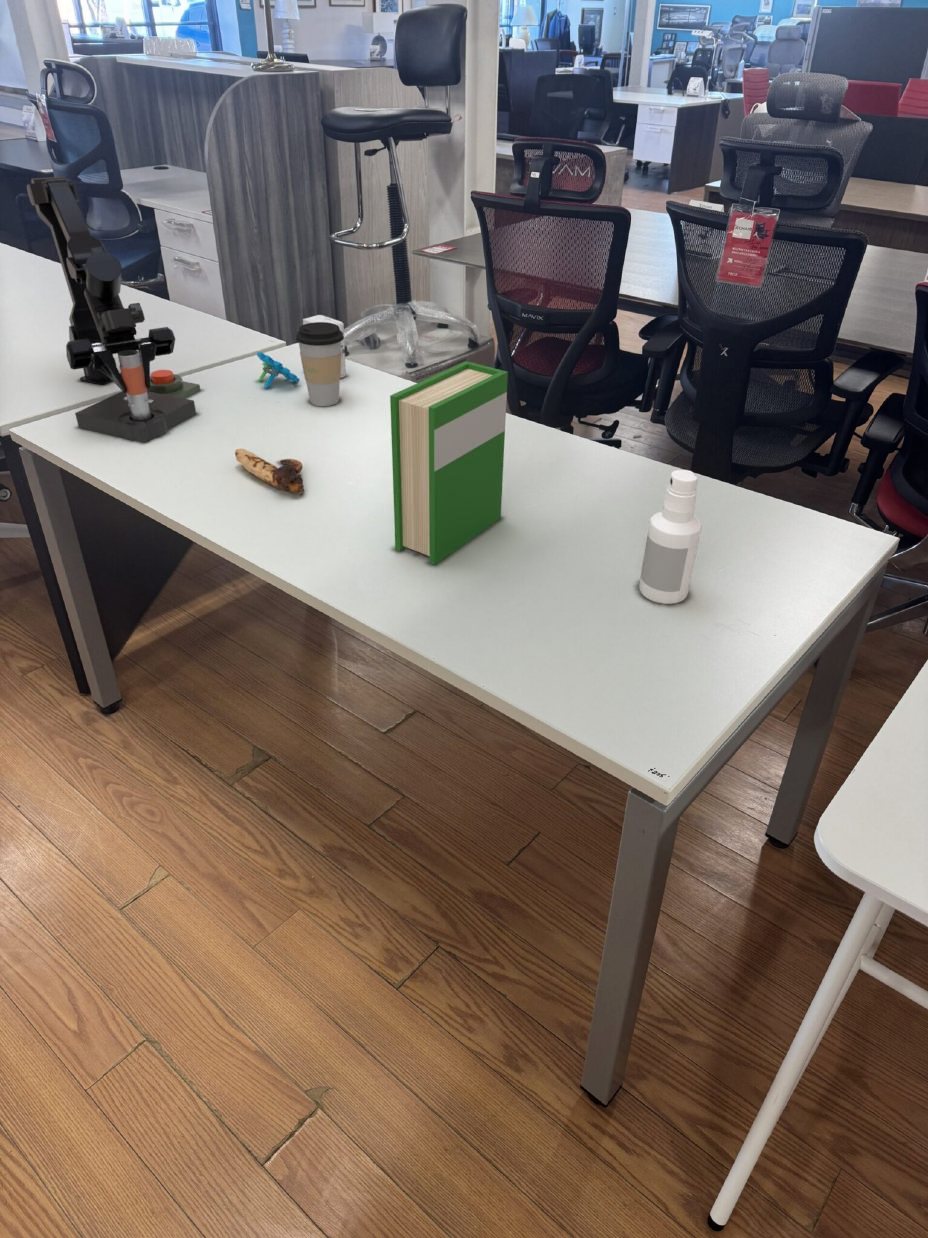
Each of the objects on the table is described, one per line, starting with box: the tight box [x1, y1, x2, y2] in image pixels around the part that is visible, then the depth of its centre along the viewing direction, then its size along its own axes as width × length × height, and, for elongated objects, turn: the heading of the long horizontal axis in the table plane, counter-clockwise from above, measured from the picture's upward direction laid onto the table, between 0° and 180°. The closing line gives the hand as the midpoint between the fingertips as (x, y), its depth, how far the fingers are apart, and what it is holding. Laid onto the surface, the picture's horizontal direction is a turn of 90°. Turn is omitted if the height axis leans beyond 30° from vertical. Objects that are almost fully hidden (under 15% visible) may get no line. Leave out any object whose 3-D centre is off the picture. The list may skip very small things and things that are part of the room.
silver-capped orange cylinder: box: [117, 350, 153, 422], centre depth 156 cm, size 6×6×13 cm
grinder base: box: [74, 390, 197, 443], centre depth 164 cm, size 17×15×3 cm
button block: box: [147, 373, 201, 399], centre depth 176 cm, size 11×9×3 cm
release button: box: [150, 369, 174, 384], centre depth 175 cm, size 4×4×2 cm
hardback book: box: [389, 360, 509, 566], centre depth 125 cm, size 18×7×24 cm, turn 145°
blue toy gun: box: [256, 351, 300, 389], centre depth 181 cm, size 11×6×10 cm
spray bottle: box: [638, 469, 703, 605], centre depth 114 cm, size 7×7×18 cm
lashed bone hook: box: [234, 448, 305, 495], centre depth 145 cm, size 9×5×18 cm
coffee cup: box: [295, 322, 345, 407], centre depth 171 cm, size 9×9×15 cm
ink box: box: [302, 314, 347, 379], centre depth 185 cm, size 9×5×12 cm, turn 47°
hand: (137, 389), depth 155 cm, fingers closed on silver-capped orange cylinder, 4 cm apart
